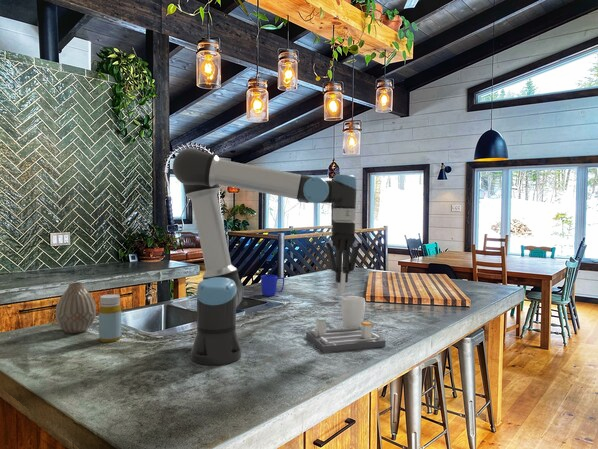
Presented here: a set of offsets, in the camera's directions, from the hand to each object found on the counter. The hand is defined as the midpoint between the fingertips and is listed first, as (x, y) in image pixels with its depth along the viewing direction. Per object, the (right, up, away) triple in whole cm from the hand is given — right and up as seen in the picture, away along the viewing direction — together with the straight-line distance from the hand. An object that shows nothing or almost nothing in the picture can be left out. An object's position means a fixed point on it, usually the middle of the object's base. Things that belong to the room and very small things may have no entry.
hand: (341, 292), depth 148 cm
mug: (-28, -14, +79) cm, 85 cm away
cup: (+6, -17, +18) cm, 25 cm away
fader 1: (-6, -15, +6) cm, 18 cm away
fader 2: (+9, -16, +1) cm, 18 cm away
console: (+2, -18, +4) cm, 18 cm away
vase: (-95, -16, +13) cm, 97 cm away
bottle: (-79, -17, +3) cm, 80 cm away
